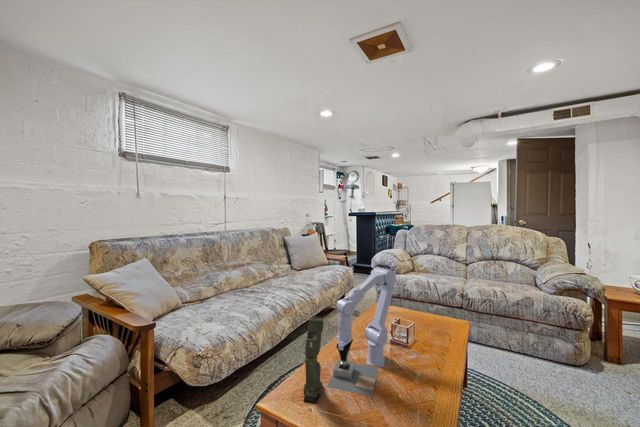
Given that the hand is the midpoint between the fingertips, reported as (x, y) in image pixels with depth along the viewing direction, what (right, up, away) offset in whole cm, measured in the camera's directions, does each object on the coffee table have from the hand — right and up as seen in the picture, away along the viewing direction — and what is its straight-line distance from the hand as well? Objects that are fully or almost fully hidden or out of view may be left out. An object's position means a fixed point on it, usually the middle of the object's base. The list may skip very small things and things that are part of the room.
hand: (344, 358), depth 119 cm
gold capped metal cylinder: (0, -4, 0) cm, 4 cm away
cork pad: (+8, -7, -7) cm, 13 cm away
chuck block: (0, -6, 0) cm, 6 cm away
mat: (+4, -7, -2) cm, 8 cm away
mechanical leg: (-13, -7, -12) cm, 20 cm away
